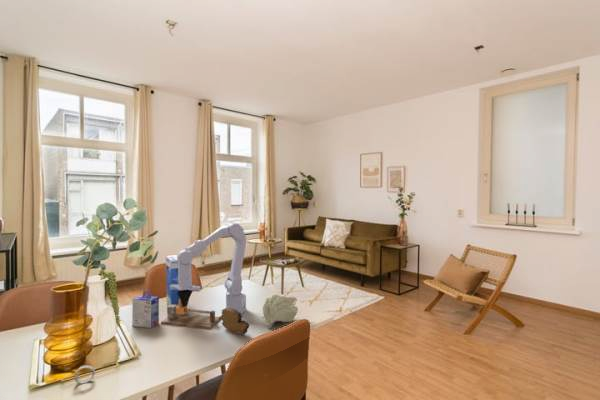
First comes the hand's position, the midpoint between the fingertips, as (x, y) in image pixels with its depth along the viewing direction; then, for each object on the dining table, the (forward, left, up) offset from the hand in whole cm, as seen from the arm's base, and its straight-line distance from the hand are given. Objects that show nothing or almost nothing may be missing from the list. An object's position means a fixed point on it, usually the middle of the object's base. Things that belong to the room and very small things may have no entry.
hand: (185, 305), depth 138 cm
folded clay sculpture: (-42, -8, -7) cm, 43 cm away
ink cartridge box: (+15, +7, -7) cm, 18 cm away
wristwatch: (+6, +46, -7) cm, 47 cm away
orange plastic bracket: (+2, 0, -3) cm, 4 cm away
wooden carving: (-26, +5, -7) cm, 27 cm away
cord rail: (-3, 0, -7) cm, 8 cm away
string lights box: (+14, -14, -7) cm, 21 cm away
